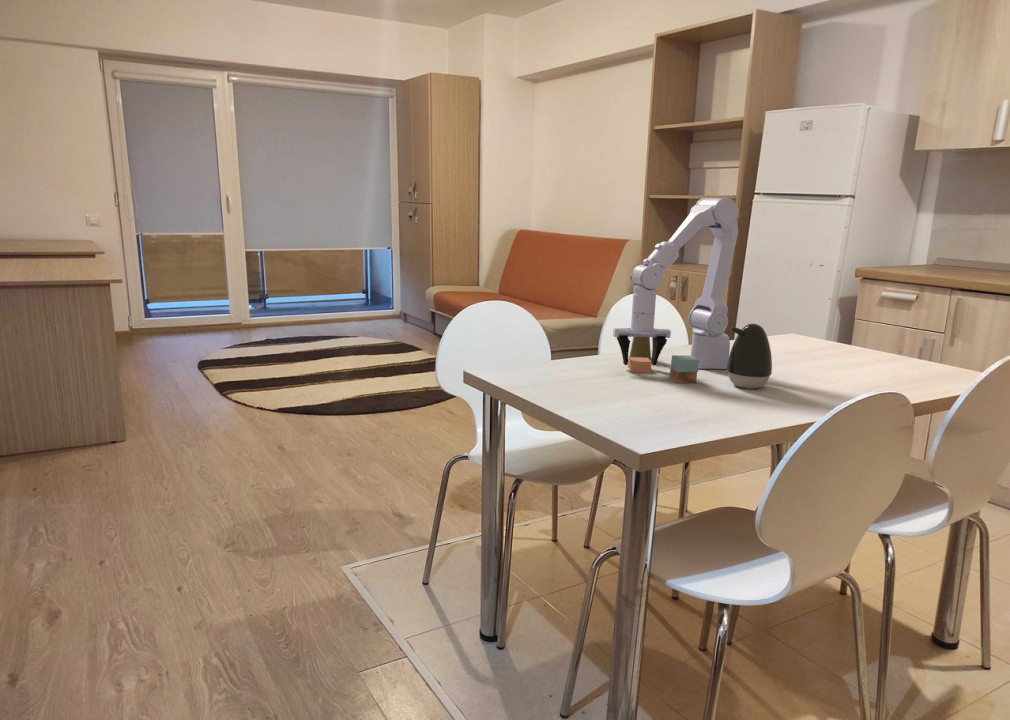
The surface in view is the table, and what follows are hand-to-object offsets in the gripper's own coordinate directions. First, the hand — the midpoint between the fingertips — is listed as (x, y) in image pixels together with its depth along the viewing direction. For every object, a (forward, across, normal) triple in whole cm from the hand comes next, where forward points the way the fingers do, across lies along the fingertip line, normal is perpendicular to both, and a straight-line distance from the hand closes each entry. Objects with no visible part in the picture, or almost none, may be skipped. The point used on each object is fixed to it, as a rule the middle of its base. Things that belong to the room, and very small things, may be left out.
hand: (639, 364), depth 180 cm
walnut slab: (+2, +8, -11) cm, 14 cm away
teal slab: (-1, +8, -11) cm, 14 cm away
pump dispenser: (+2, +22, -16) cm, 27 cm away
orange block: (+2, 0, 0) cm, 2 cm away
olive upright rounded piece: (+2, +4, +14) cm, 15 cm away
